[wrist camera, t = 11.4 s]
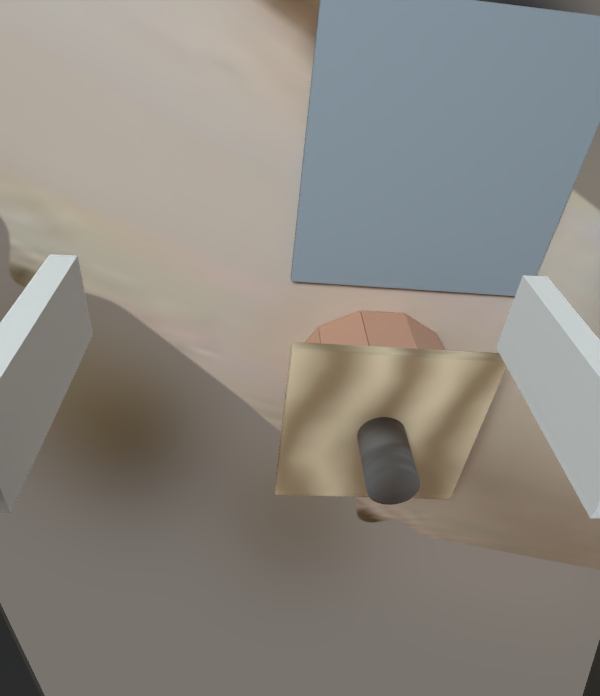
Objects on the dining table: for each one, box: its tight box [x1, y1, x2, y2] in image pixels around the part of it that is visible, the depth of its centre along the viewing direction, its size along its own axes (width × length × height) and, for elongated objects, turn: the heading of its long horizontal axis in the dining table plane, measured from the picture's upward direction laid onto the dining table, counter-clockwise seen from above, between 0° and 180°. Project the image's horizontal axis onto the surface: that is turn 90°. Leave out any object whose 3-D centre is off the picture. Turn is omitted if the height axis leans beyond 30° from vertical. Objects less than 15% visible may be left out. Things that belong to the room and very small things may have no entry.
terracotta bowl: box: [305, 311, 444, 350], centre depth 52 cm, size 16×16×7 cm
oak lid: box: [275, 342, 506, 504], centre depth 47 cm, size 18×18×7 cm
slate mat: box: [291, 0, 600, 296], centre depth 42 cm, size 22×22×1 cm
